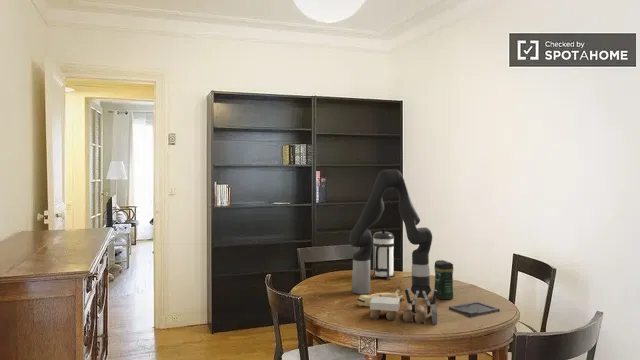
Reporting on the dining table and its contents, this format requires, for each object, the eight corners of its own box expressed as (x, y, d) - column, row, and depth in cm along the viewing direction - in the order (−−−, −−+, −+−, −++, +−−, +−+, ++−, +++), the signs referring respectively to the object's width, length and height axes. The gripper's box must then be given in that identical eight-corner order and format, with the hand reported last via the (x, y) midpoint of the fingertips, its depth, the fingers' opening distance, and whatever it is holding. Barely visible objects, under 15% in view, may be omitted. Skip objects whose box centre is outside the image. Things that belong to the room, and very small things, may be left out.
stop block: (432, 324, 186) (432, 312, 186) (431, 315, 197) (431, 304, 197) (437, 324, 185) (437, 312, 185) (436, 315, 197) (436, 304, 197)
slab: (370, 309, 193) (370, 302, 193) (373, 302, 203) (373, 296, 203) (398, 311, 190) (398, 304, 190) (399, 304, 200) (399, 298, 200)
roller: (415, 323, 187) (413, 314, 187) (416, 314, 199) (415, 305, 199) (425, 322, 186) (423, 313, 186) (425, 313, 198) (424, 304, 198)
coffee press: (365, 275, 275) (365, 226, 274) (390, 274, 279) (390, 226, 278) (375, 282, 258) (376, 230, 257) (401, 280, 262) (401, 229, 261)
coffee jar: (455, 299, 223) (456, 262, 222) (441, 300, 220) (442, 263, 220) (445, 294, 232) (445, 258, 232) (431, 295, 230) (432, 259, 230)
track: (369, 319, 192) (369, 309, 192) (373, 310, 204) (373, 302, 204) (425, 323, 186) (425, 314, 186) (425, 314, 198) (425, 305, 198)
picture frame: (471, 318, 195) (499, 312, 204) (471, 313, 195) (499, 307, 204) (449, 309, 207) (476, 304, 215) (449, 305, 207) (476, 300, 215)
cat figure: (393, 300, 226) (352, 302, 214) (394, 282, 226) (353, 284, 214) (406, 305, 217) (364, 308, 205) (407, 287, 218) (365, 289, 206)
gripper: (403, 275, 191) (403, 315, 191) (437, 276, 187) (438, 316, 187) (404, 271, 198) (404, 310, 198) (437, 272, 194) (438, 311, 195)
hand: (421, 313), depth 193 cm, fingers open, 5 cm apart
